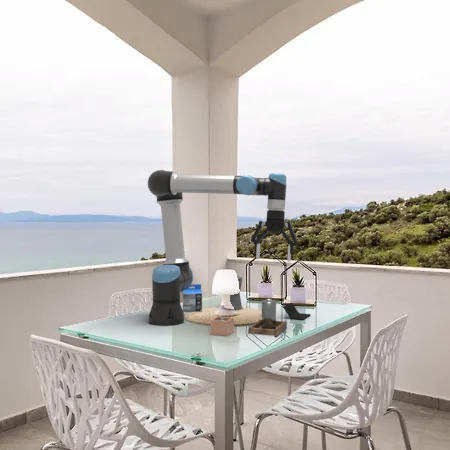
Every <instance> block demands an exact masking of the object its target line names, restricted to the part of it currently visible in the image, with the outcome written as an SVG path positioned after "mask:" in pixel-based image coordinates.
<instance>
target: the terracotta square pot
mask: <svg viewBox="0 0 450 450" xmlns="http://www.w3.org/2000/svg"><path fill="white" fill-rule="evenodd" d="M221 318H224V319H226V321H222V320H219V319H221ZM209 322H210V323H209V324H210V325H209V326H210V329H209V330H210V331H209V334H210V335H214V336H223V337H225V336H226V337H229V336H230V335H231V334H233V333H234V332H235V317H231V316H230V317H229V316H218V315H217V316H215V317H213V318H211V319H210V320H209Z"/></svg>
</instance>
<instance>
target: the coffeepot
mask: <svg viewBox="0 0 450 450" xmlns="http://www.w3.org/2000/svg"><path fill="white" fill-rule="evenodd" d="M237 278H238V281H239V289H240V292H241V289H242V284H243V283H242V282H243V277H242V276H240V275H237ZM240 292H239V293H238V294H234V295H230V302H231V304H232V306H233V307H234V309H235V310H234V311H239V310H240V311H241V310H242V309H243V305H242V299H241V293H240Z"/></svg>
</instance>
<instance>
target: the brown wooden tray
mask: <svg viewBox="0 0 450 450" xmlns="http://www.w3.org/2000/svg"><path fill="white" fill-rule="evenodd" d="M287 323H288V322H287V321H285V320H284V321H282V320H276V329H275V330H274V329H262V319H258V321H256V322H254V323H253V324H252V325H251V326H249V327H248V330H247V331H248V334H249V335H252V334H253V335H263V336H264V335H265V336H272V337H273V336H274V338H278V337H279V336H280V335H281V334H282V333H283V332H284V331H285V330H286V329H287V325H288V324H287Z"/></svg>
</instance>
